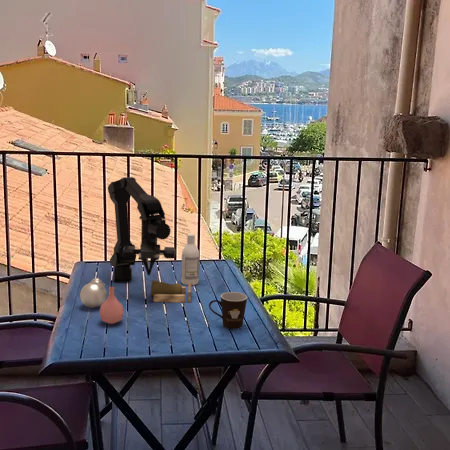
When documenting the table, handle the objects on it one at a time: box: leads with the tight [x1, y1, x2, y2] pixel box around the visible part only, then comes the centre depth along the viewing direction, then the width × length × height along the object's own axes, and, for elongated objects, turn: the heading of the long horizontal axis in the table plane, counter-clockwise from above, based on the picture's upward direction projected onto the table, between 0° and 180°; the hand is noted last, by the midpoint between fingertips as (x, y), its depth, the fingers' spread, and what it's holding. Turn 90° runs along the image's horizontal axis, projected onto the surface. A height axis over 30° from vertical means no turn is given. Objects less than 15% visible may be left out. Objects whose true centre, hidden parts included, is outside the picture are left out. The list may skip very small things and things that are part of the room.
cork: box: [150, 279, 182, 297], centre depth 208 cm, size 6×6×11 cm
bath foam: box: [180, 233, 200, 286], centre depth 223 cm, size 7×7×20 cm
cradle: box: [152, 283, 192, 304], centre depth 207 cm, size 14×10×4 cm
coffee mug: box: [208, 291, 248, 330], centre depth 184 cm, size 12×9×10 cm
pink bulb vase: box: [98, 286, 125, 325], centre depth 181 cm, size 8×8×12 cm
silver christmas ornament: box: [79, 277, 108, 309], centre depth 194 cm, size 9×10×10 cm
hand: (148, 274), depth 205 cm, fingers closed
